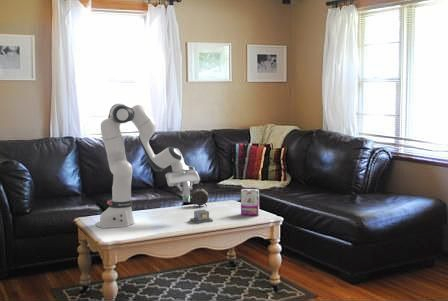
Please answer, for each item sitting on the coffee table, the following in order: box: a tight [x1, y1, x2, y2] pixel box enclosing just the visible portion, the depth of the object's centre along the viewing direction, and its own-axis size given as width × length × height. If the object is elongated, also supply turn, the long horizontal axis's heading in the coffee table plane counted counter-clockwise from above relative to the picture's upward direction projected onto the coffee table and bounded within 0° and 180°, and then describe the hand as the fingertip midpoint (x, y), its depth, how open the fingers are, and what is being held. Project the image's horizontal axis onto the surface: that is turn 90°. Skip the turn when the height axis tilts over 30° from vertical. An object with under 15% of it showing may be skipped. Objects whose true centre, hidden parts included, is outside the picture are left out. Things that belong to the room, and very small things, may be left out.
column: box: [181, 181, 191, 203], centre depth 333 cm, size 5×5×12 cm
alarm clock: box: [191, 182, 210, 208], centre depth 377 cm, size 11×5×16 cm, turn 84°
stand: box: [190, 209, 214, 224], centre depth 337 cm, size 11×9×6 cm
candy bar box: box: [240, 188, 260, 217], centre depth 352 cm, size 11×5×16 cm, turn 76°
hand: (186, 189), depth 332 cm, fingers closed on column, 4 cm apart
